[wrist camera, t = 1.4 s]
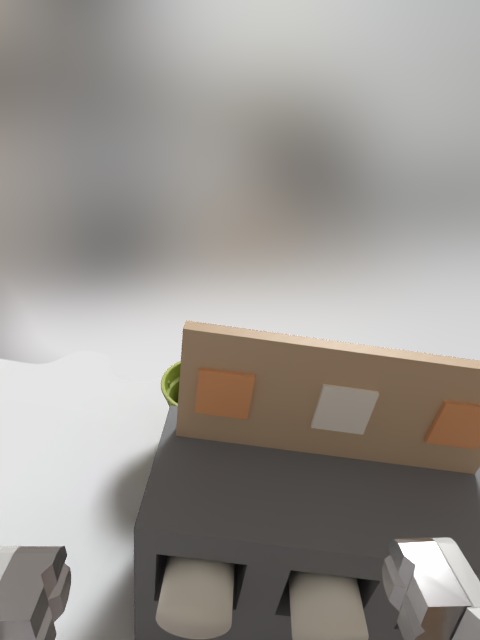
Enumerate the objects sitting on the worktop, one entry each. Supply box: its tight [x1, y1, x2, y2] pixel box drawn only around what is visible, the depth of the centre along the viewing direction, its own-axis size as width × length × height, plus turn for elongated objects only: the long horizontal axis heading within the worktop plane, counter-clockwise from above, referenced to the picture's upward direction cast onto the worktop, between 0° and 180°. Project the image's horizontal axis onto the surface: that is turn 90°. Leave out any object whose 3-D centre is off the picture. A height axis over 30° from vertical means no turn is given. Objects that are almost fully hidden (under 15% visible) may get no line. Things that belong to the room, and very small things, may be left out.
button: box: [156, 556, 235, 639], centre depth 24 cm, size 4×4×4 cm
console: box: [134, 321, 480, 640], centre depth 27 cm, size 24×10×23 cm, turn 88°
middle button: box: [288, 570, 369, 640], centre depth 24 cm, size 4×4×4 cm
